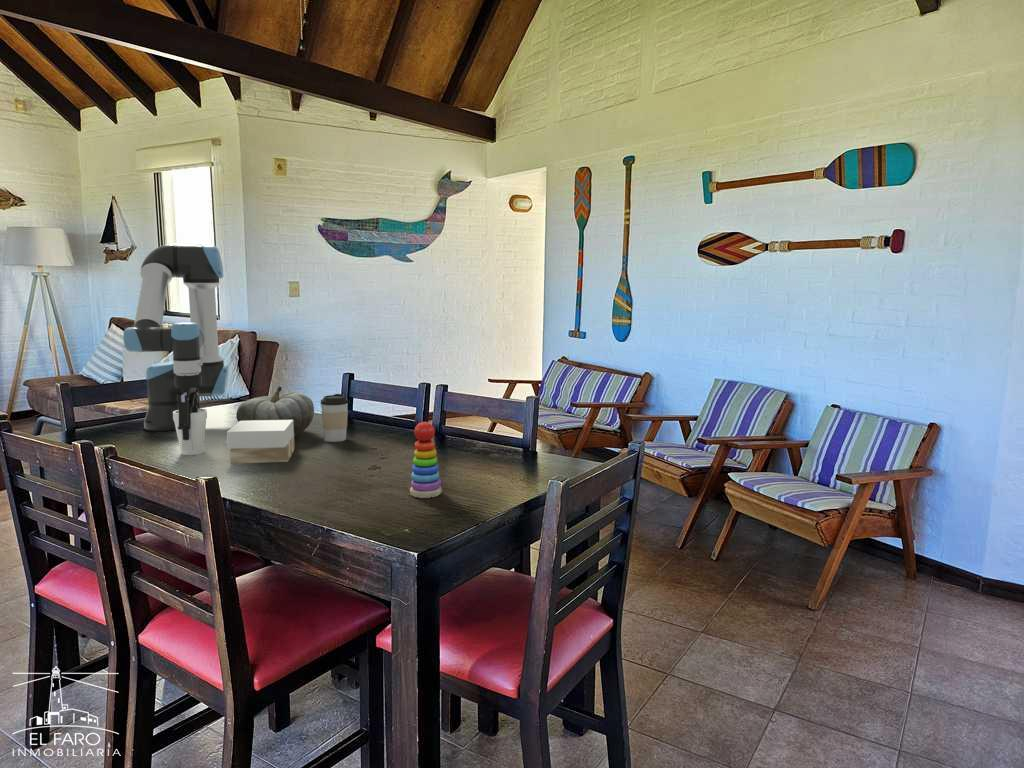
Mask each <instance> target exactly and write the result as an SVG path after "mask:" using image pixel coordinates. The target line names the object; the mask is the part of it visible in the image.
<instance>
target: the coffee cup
mask: <svg viewBox="0 0 1024 768" xmlns="http://www.w3.org/2000/svg"><path fill="white" fill-rule="evenodd" d="M319 404H320V406H321V418H322V419H321V420H322V429H323V433H324V434H323V435H324V441H326V442H330V443H335V442H336V443H338V442H345V440H346V439H347V428H348V414H349V409H348V404H349V399H348V398H347V397H346V396H345V395H343V394H341V393H335V394H331V395H325V396H323V398H321V400H320V403H319Z"/></svg>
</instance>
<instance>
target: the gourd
mask: <svg viewBox="0 0 1024 768" xmlns="http://www.w3.org/2000/svg"><path fill="white" fill-rule="evenodd" d="M282 388H283V387H282V386H280V385H279V386H277V389H276V391H275V393H274V394H273V395H272V396H269V395H262V396H258V397H253V398H251V399H247V400H246V401H244V402H242V403H241V404H240V405H239V406H238V407H237V410H236V421H237V423H238V422H239V421H251V420H293V424H294V437H296V436H298V435H300V434H301V433H303V432H304V431H305V430H306V429H307V428H309V426H310V425H311V423H312V422H313V420H314V415H315V406H314V402H313V400H312V399H311V398H310V397H309V396H307V395H305V394H304V393H299V392H297V391H287V392H283V393H282V394H280V392H281V391H282Z"/></svg>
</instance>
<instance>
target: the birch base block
mask: <svg viewBox="0 0 1024 768" xmlns="http://www.w3.org/2000/svg"><path fill="white" fill-rule="evenodd" d="M295 443H296V442H295V436H293V437H292V439H291V440H290V441H289V443H288V444H287V445H286V447H278V448H236V449H229V453H230V456H229V457H230V465H231V464H235V465H237V464H259V463H289V460H290V459H291V457H292V455H293V453H294V451H295V449H296V445H295Z"/></svg>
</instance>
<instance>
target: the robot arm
mask: <svg viewBox="0 0 1024 768" xmlns="http://www.w3.org/2000/svg"><path fill="white" fill-rule="evenodd" d="M222 262H223V260H222V257H221V253H220V250H219V248H218V247H217V246H216V245H214V244H206V243H173V242H172V243H170V242H169V243H165V244H162V245H159V246H158V247H156V248H154V249H153V250H152V251H151V252H150V253H148V255H147V256H146V257H145V259H144V260H143V261H142V264H141V266H140V277H141V278H142V281H141V286H140V292H139V297H138V302H137V307H136V313H135V318H134V323H133V324H134V325H133V326H131V327H125V329H124V330H123V336H122V337H123V345H124V348H125V350H126V351H128V352H135V353H146V352H147V353H148V352H172V357H173V358H172V360H171V361H164V362H160V363H153V364H151V365H149V366H147V368H146V371H145V372H146V378H145V380H146V388H147V389H146V390H147V391H146V392H147V404H148V406H147V411H146V415H145V418H144V420H143V426H144V427H143V429H145V430H147V431H152V432H157V431H158V432H163V431H176V427H175V422H174V420H173V411H176V410H179V427H178V430H181V434H182V451H184V450H193V445H192V429H190V425H191V418H190V414H191V413H196V412H198V408H201V401H200V400H201V399H200V397H211V398H213V397H219V396H223V395H225V394H226V391H227V387H228V379H229V364H228V363H224V362H225V361H224V358H223V356H221V355H220V354H219V353H220V352H219V337H218V333H219V332H218V318H217V304H216V303H217V302H216V287H217V286H218V285H219V284H220V279H223V278H224V268H223V263H222ZM173 278H180V279H182V281H183V284H184V285H185V286H186V287H187V288H188V299H189V300H188V301H189V314H190V315H189V317H190V322H189V321H185V322H181V321H180V322H174V323H172V324H171V326H168V327H167V326H162V325H163V319H164V318H163V317H164V312H165V305H166V298H167V292H168V284H169V283H170V282H171V281H172V279H173Z"/></svg>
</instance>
